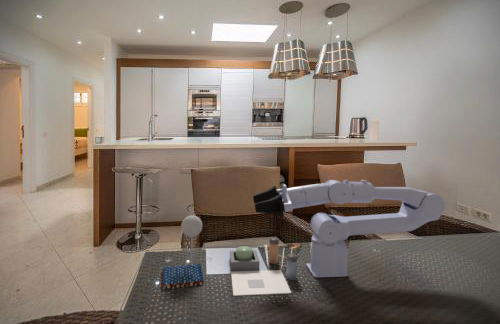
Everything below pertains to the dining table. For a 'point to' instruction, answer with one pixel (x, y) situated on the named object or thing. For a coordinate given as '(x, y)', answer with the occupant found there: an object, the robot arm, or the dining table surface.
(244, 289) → the paper
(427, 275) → the dining table surface
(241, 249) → the button
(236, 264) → the button housing
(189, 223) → the lollipop
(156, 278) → the dining table surface
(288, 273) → the marker slate
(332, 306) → the dining table surface
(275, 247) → the marker terracotta
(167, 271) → the woven mat
